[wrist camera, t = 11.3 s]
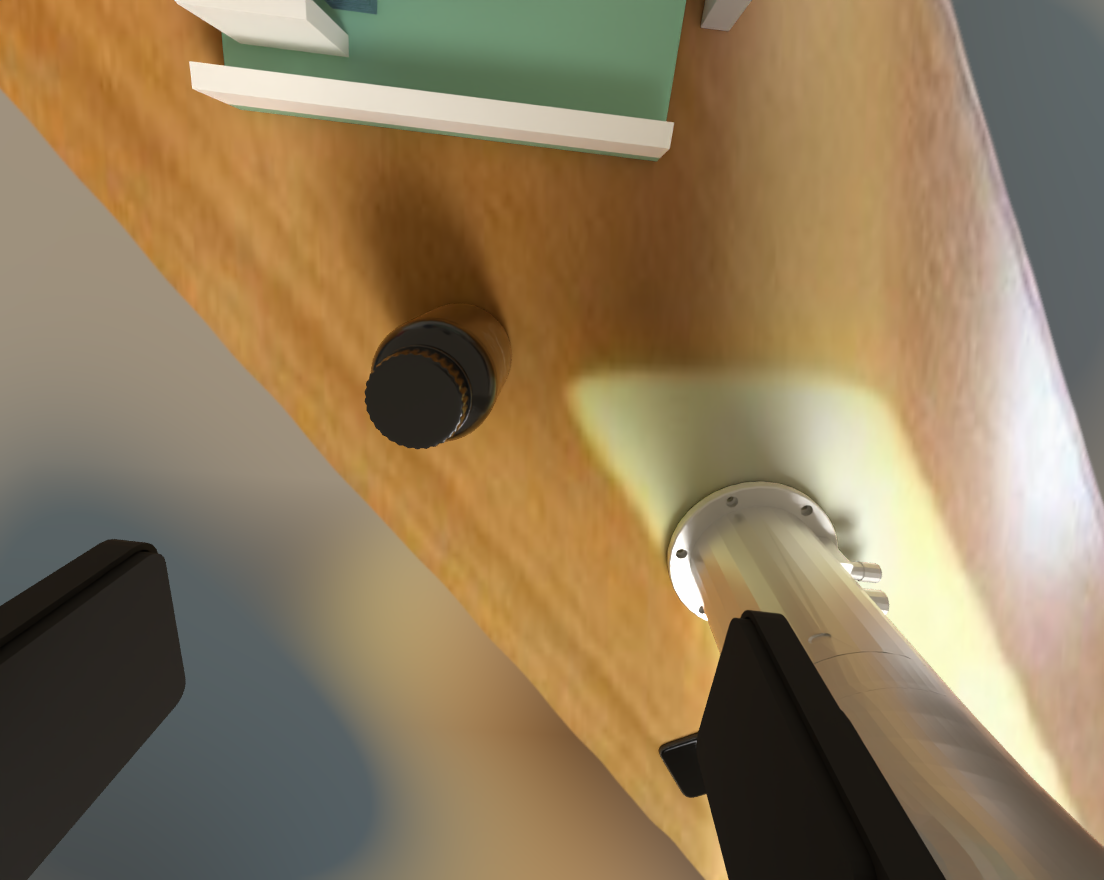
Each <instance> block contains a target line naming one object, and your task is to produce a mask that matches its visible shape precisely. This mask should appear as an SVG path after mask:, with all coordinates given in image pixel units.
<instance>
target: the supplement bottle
mask: <svg viewBox="0 0 1104 880" xmlns="http://www.w3.org/2000/svg"><path fill="white" fill-rule="evenodd" d="M511 361H512V351H511V345H510V341H509V338H508V336H507V334H506V332H505V330H504V328H503V327H502V325H501V324H500V323H499V322H498V320H497V319H496V318H495V317H494V316H492V315H491V314H490V313H488V312H487V311H485V310H484V309H482V308H479V307H477V306H474V305H471V304H465V303H453V304H447V305H443V306H441V307H438V308H436V309H434V310H431V311H429V312H427V313H425V314H423V315H421V316H419V317H417V318H415V319H413V320H411V321H408V322H406V323H404V324H402V325H401V326H399V327H397V328H396V329H395V330H393V331H392V332H391V333H389V334H388V335H387V336H386V337H385V339H384V340H383V341H382V342H381V344H380V345H379V347H378V349H377V351H376V353H375V356H374V358H373V362H372V367H371V373H370V377H369V380H368V381H367V382H366V386H367V388H366V390H365V395H366V398H365V403H366V405H367V412H368V413H369V415H370V420H371V421H372V422H373V423H374V425H375V427H376V428H377V429H378V430H380V432H381V433H382V435H384V436H386V437H387V438H388V439H389V440H390V441H393V442H396V443H397V444H398V445H403V446H405V447H407V448H415V449H420V448H425V449H427V448H429V447H435V446H437V445H438V444H439V443H444V442H447V441H453V440H456V439H459V438H462V437H464V436H466V435H468V434H470V433H471V432H473V431H474V430H475V429H477V428H478V427H479V426H480V425H481V424H482V423H483V422H484V420H485V419H486V418H487V416H488V415H489V413H490V412H491V410H492V408H493V406H494V404H495V402H496V400H497V397H498V395H499V393H500V391H501V389H502V387H503V385H504V383H505V381H506V379H507V376H508V374H509V371H510V367H511Z"/></svg>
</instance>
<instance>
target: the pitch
mask: <svg viewBox="0 0 1104 880" xmlns="http://www.w3.org/2000/svg"><path fill="white" fill-rule="evenodd" d="M174 1H176V2H177V4H179V5H180V6H182V7H183V8H185V9H187V10H188V11H190V12H191V13H193V14H194V15H196V16H198V17H199V18H201V19H202V20H204V21H206V22H207V23H209V24H210V25H212V26H213V27H215V28H217V29H218V30H220V31H221V32H222V44H223V55H224V66H222V65H214V64H207V63H199V62H191V61H189V62H190V71H191V80H192V89H194V90H196V91H199V92H201V93H203V94H206V95H208V96H210V97H213V98H215V99H217V100H220V101H222V102H224V103H227V104H229V105H231V106H234V107H236V108H238V109H241V110H249V111H257V112H265V113H273V114H281V115H289V116H297V117H305V118H313V119H321V120H329V121H337V122H345V123H353V124H361V125H369V126H377V127H385V128H393V129H401V130H409V131H417V132H425V133H433V134H441V135H449V136H457V137H465V138H473V139H481V140H489V141H497V142H505V143H513V144H521V145H529V146H537V147H545V148H553V149H561V150H569V151H577V152H585V153H593V154H601V155H609V156H617V157H625V158H633V159H641V160H649V161H658V160H659V159H660V158H661V157H662V156H663V155H664V154H665V153H666V152H667V151H668V150H669V149H670V144H671V139H672V133H673V127H674V122H666V119H667V113H668V107H669V101H670V95H671V89H672V83H673V77H674V71H675V65H676V59H677V53H678V47H679V41H680V35H681V29H682V23H683V17H684V11H685V5H686V0H377V14H370V13H362V12H354V11H346V10H339V9H332V8H331V7H330V6H329V5H328V4H327V3H326V2H325V1H324V0H174ZM751 1H752V0H705V4H704V10H703V16H702V21H701V27H700V28H707V29H715V30H722V31H729V30H730V29H731V28H732V26H733V25H734V24H735V22H736V21H737V20H738V18H739V17H740V16H741V14H742V13H743V12H744V10H745V9H746V7H747V6H748V5H749V3H750V2H751Z"/></svg>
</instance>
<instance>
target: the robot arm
mask: <svg viewBox="0 0 1104 880" xmlns="http://www.w3.org/2000/svg"><path fill="white" fill-rule="evenodd" d="M729 497H731V498H730V499H728V498H729ZM679 549H680V550H679ZM667 565H668V570H669V576H670V579H671V582H672V585H673V588H674V590H675V592H676V593H677V595H678V597H679V599H680V600H681V601H682V602H683V603H684V604H685V606H686V607H687V608H688V609H689V610H690V611H692V612H693V613H694V614H696V615H697V616H698V617H700V618H702V619H704V620H706V621H708V623H709V625H710V628H711V631H712V633H713V636H714V638H715V641H716V644H717V646H718V649H719V652H720V654H721V655H720V659H719V662H718V666H717V669H716V673H715V676H714V680H713V683H712V686H711V690H710V693H709V697H708V700H707V704H706V707H705V711H704V714H703V718H702V721H701V725H700V728H699V732H698V736H697V758H698V762H699V766H700V770H701V774H702V778H703V782H704V786H705V790H706V793H707V797H708V801H709V805H710V809H711V813H712V817H713V821H714V824H715V828H716V832H717V836H718V840H719V844H720V848H721V851H722V855H723V859H724V863H725V867H726V871H727V875H728V879H729V880H1104V846H1103V845H1101V844H1100V843H1099V842H1098V841H1097V840H1096V839H1095V838H1094V837H1093V836H1092V835H1091V834H1090V833H1089V832H1087V831H1086V830H1085V829H1084V828H1083V827H1082V826H1081V825H1080V824H1079V823H1078V822H1077V821H1076V820H1075V819H1074V818H1073V817H1072V816H1071V815H1070V814H1069V813H1068V812H1067V811H1066V810H1065V809H1064V808H1063V807H1062V806H1061V805H1060V804H1059V803H1058V802H1057V801H1055V800H1054V799H1053V798H1052V797H1051V796H1050V795H1049V794H1048V793H1047V792H1046V791H1045V790H1044V789H1043V788H1042V787H1041V786H1040V785H1039V784H1038V783H1037V782H1036V781H1035V780H1034V779H1033V778H1032V777H1031V776H1030V775H1029V774H1028V773H1027V772H1026V771H1025V770H1024V769H1023V768H1022V767H1021V766H1020V764H1019V763H1018V762H1017V761H1016V760H1015V759H1014V758H1013V757H1012V756H1011V755H1010V754H1009V753H1008V752H1007V751H1006V749H1005V748H1004V747H1003V746H1002V745H1001V744H1000V743H999V742H998V741H997V740H996V739H995V738H994V737H993V736H992V734H991V733H990V732H989V731H988V730H987V729H986V728H985V727H984V726H983V725H982V724H981V723H980V722H979V720H978V719H977V718H976V717H975V716H974V715H973V714H972V713H971V712H970V711H969V709H968V708H967V707H966V706H965V705H964V704H963V703H962V702H961V700H960V699H959V698H958V697H957V696H956V695H955V694H954V693H953V691H952V690H951V689H950V688H949V687H948V686H947V685H946V683H945V682H944V681H943V680H942V679H941V678H940V677H939V675H938V674H937V673H936V672H935V671H934V670H933V669H932V667H931V666H930V665H929V664H928V663H927V662H926V661H925V659H924V658H923V657H922V656H921V655H920V654H919V653H918V651H917V650H916V649H915V648H914V647H913V646H912V645H911V643H910V642H909V641H908V640H907V639H906V638H905V637H904V635H903V634H902V633H901V632H900V631H899V630H898V629H897V627H896V626H895V625H894V624H893V623H892V622H891V621H890V619H889V618H888V617H887V616H886V614H887V613H888V611H889V601H888V597H887V596H886V594H885V593H884V592H883V591H881V590H873V589H865V588H862V587H861V586H860V585H859V584H858V583H857V582H856V581H855V580H858V581H863V582H872V583H877V582H879V581H880V580H881V576H882V571H881V568H880V566H879V565H878V564H876V563H867V562H850V561H849V560H848V559H847V558H846V557H845V556H844V555H843V554H842V553H841V551H840V550H839V549H838V540H837V536H836V533H835V529H834V526H833V525H832V523H831V521H830V519H829V518H828V516H827V514H826V513H825V512H824V511H823V510H822V509H821V508H820V507H819V506H818V504H816V503H815V502H814V501H813V500H812V499H811V498H809V497H808V496H807V495H806V494H804V493H802V492H800V491H798V490H796V489H794V488H792V487H789V486H786V485H782V484H779V483H772V482H763V481H760V482H745V483H740V484H736V485H732V486H728V487H726V488H723V489H721V490H718V491H716V492H713V493H712V494H710V495H709V496H707V497H705V498H704V499H702V500H701V501H699V502H698V503H697V504H696V505H695V506H693V507H692V508H691V509H690V510H689V511H688V512H687V513H686V514H685V516H684V517H683V518H682V520H681V521H680V522H679V523H678V525H677V527H676V529H675V531H674V533H673V535H672V537H671V541H670V544H669V548H668V558H667ZM184 689H185V673H184V667H183V662H182V656H181V650H180V644H179V638H178V632H177V626H176V621H175V615H174V609H173V603H172V597H171V591H170V585H169V579H168V573H167V567H166V562H165V559H164V557H163V556H162V555H161V554H158V553H157V549H156V548H155V547H154V546H153V545H152V544H149V543H143V542H135V541H126V540H117V539H111V540H106V541H104V542H102V543H100V544H98V545H97V546H95V547H93V548H92V549H90V550H89V551H87V552H86V553H84V554H82V555H81V556H79V557H77V558H76V559H74V560H73V561H71V562H70V563H68V564H66V565H65V566H63V567H62V568H60V569H58V570H57V571H56V572H54V573H52V574H51V575H49V576H47V577H46V578H44V579H43V580H41V581H39V582H38V583H36V584H35V585H33V586H31V587H30V588H28V589H27V590H25V591H24V592H22V593H20V594H19V595H17V596H16V597H14V598H12V599H11V600H9V601H8V602H6V603H4V604H3V605H1V606H0V880H27V879H28V878H29V877H30V876H31V875H32V873H33V872H34V871H35V870H36V869H37V868H38V866H39V865H40V864H41V863H42V862H43V861H44V859H45V858H46V857H47V856H48V855H49V854H50V852H51V851H52V850H53V849H54V848H55V847H56V845H57V844H58V843H59V842H60V841H61V839H62V838H63V837H64V836H65V835H66V834H67V832H68V831H69V830H70V829H71V828H72V827H73V825H74V824H75V823H76V822H77V821H78V820H79V818H80V817H81V816H82V815H83V814H84V813H85V811H86V810H87V809H88V808H89V807H90V806H91V804H92V803H93V802H94V801H95V800H96V799H97V797H98V796H99V795H100V794H101V793H102V792H103V790H104V789H105V788H106V787H107V786H108V785H109V783H110V782H111V781H112V780H113V779H114V778H115V776H116V775H117V774H118V773H119V772H120V771H121V769H122V768H123V767H124V766H125V765H126V763H127V762H128V761H129V760H130V759H131V758H132V757H133V755H134V754H135V753H136V752H137V751H138V749H139V748H140V747H141V746H142V745H143V743H144V742H145V741H146V740H147V739H148V738H149V737H150V735H151V734H152V733H153V732H154V731H155V730H156V728H157V727H158V726H159V725H160V724H161V723H162V721H163V720H164V719H165V718H166V717H167V716H168V714H169V713H170V712H171V711H172V710H173V709H174V707H175V706H176V705H177V703H178V702H179V700H180V699H181V697H182V695H183V692H184Z"/></svg>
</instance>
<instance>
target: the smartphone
mask: <svg viewBox="0 0 1104 880" xmlns="http://www.w3.org/2000/svg"><path fill="white" fill-rule="evenodd" d="M697 736H698V733H696V734H693V735H690V736H687V737H684V738H681V739H678V740H675V741H672V742H669V743H666V744H664V745H662V746H661V747H660V749H659V754H660V757H661V758H662V760H663V762H664V764H665V765H666V767H667V769H668V770H669V772H670V774H671V775H672V777H673V779H674V780H675V782H676V784H677V785H678V787H679V789H680V790H681V792H682V793H683V794H684V795H685V796H686V797H689V798H694V797H698V796H701V795H705V794H707V793H706V790H705V786H704V782H703V778H702V774H701V770H700V766H699V762H698V758H697Z"/></svg>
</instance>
